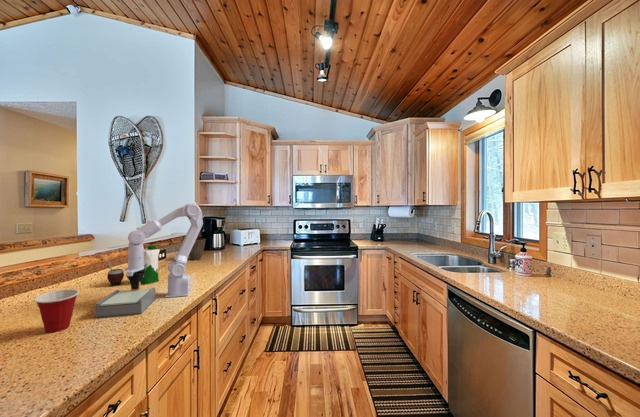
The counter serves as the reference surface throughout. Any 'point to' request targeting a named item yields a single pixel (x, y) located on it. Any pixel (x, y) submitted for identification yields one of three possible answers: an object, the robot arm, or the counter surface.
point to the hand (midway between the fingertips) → (135, 288)
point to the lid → (126, 297)
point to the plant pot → (197, 249)
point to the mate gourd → (115, 276)
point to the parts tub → (124, 306)
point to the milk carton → (150, 265)
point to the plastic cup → (57, 309)
